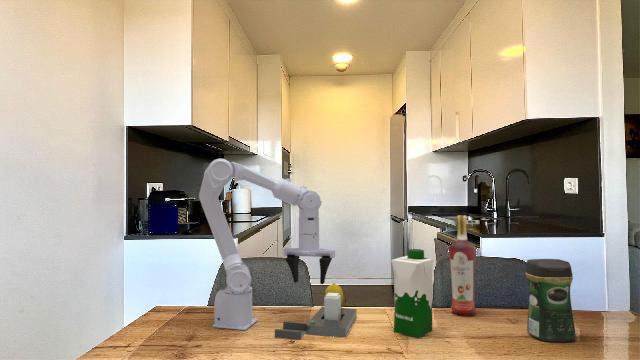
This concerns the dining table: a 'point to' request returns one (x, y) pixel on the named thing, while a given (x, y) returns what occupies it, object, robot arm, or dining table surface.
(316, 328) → the port panel
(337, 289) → the lemon
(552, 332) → the coffee jar
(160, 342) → the dining table surface
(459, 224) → the liquor
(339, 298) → the plug
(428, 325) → the milk carton
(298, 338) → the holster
